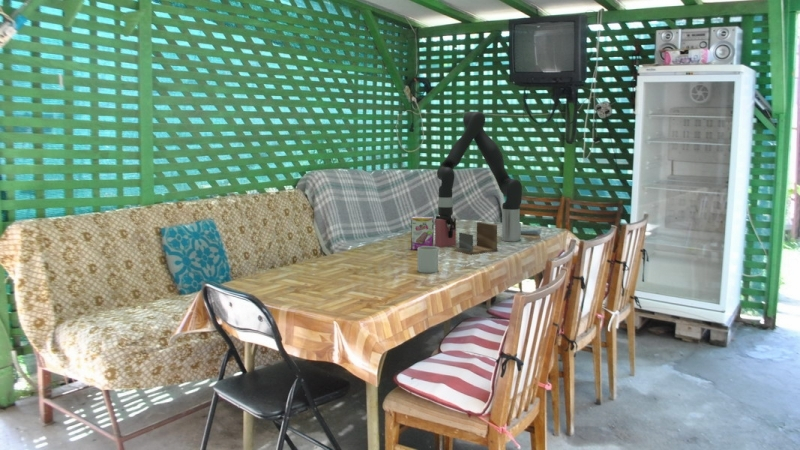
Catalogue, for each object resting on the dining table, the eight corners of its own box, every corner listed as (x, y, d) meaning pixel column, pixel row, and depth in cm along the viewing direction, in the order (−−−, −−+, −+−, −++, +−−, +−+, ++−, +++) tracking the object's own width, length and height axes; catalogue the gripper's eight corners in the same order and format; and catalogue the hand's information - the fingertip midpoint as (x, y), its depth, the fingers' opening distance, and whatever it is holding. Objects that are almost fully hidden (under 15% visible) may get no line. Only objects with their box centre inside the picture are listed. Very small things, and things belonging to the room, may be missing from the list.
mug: (423, 273, 282) (423, 250, 281) (413, 269, 291) (413, 247, 289) (446, 271, 287) (446, 248, 286) (434, 267, 296) (434, 244, 294)
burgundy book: (450, 244, 354) (450, 217, 352) (455, 245, 350) (455, 218, 348) (435, 246, 348) (435, 219, 346) (440, 247, 344) (440, 220, 342)
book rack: (480, 247, 343) (480, 222, 341) (497, 251, 332) (497, 225, 331) (454, 250, 334) (454, 224, 332) (470, 254, 323) (470, 228, 321)
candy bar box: (411, 250, 337) (410, 217, 334) (411, 248, 342) (411, 216, 339) (433, 250, 336) (433, 217, 333) (433, 248, 341) (433, 216, 338)
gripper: (459, 206, 342) (459, 238, 344) (443, 204, 354) (442, 234, 356) (448, 207, 338) (448, 239, 340) (431, 205, 350) (431, 235, 352)
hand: (445, 236), depth 348 cm, fingers open, 8 cm apart
